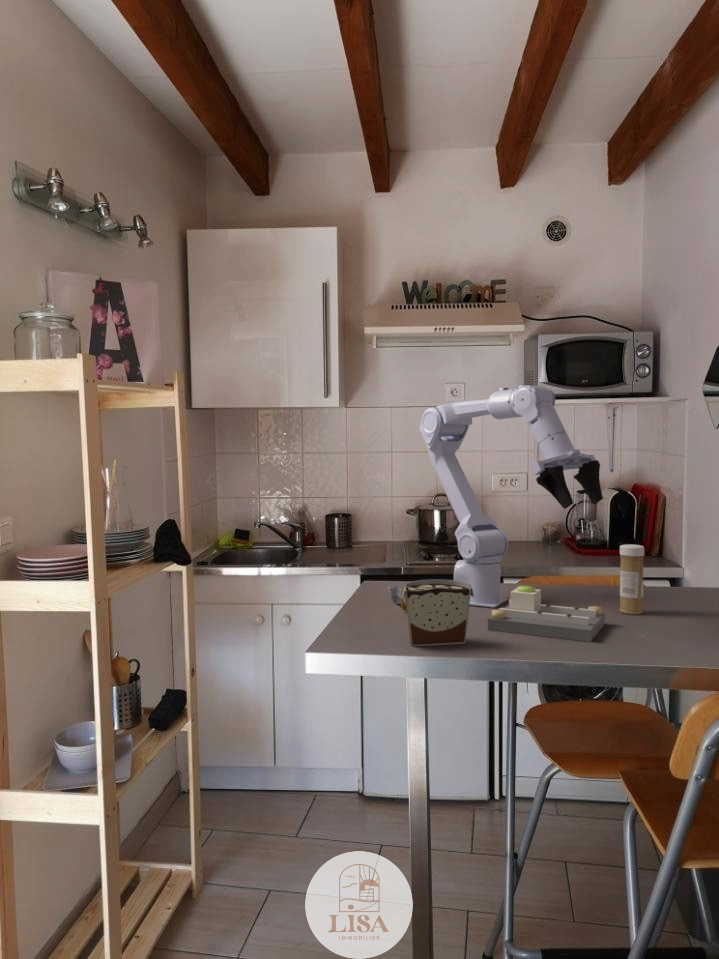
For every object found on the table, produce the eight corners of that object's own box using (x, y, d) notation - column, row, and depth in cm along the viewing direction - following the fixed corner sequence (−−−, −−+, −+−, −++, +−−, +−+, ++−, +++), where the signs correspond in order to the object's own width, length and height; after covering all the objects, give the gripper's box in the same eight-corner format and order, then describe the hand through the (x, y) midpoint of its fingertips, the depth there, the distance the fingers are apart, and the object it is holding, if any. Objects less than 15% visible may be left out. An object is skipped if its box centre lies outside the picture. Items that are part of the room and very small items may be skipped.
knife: (385, 597, 158) (385, 575, 157) (391, 597, 158) (391, 574, 158) (413, 624, 133) (413, 598, 133) (421, 624, 134) (420, 597, 133)
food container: (462, 633, 127) (462, 577, 126) (473, 643, 121) (474, 584, 120) (394, 637, 125) (394, 580, 124) (402, 646, 118) (402, 587, 118)
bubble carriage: (510, 613, 132) (510, 588, 132) (517, 608, 136) (517, 584, 136) (534, 616, 130) (534, 590, 130) (540, 610, 134) (540, 586, 134)
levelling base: (487, 629, 129) (487, 611, 129) (510, 613, 142) (510, 596, 142) (590, 642, 121) (590, 622, 121) (604, 623, 133) (605, 605, 133)
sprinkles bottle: (648, 613, 142) (649, 545, 141) (634, 616, 139) (634, 547, 138) (628, 609, 145) (629, 543, 145) (614, 611, 143) (614, 545, 142)
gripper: (536, 431, 129) (568, 498, 124) (593, 426, 136) (625, 489, 131) (514, 451, 135) (544, 515, 129) (570, 445, 142) (600, 506, 137)
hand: (583, 503), depth 131 cm, fingers open, 7 cm apart
